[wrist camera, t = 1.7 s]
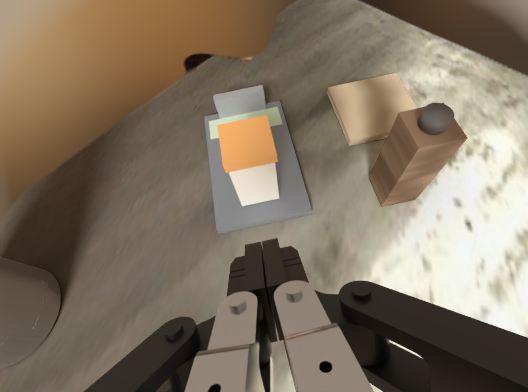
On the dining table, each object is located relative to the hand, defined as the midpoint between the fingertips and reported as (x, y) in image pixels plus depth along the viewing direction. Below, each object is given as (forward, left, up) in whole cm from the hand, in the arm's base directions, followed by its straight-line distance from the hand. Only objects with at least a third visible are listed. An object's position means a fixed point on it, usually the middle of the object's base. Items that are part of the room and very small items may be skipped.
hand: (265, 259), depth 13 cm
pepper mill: (+14, +9, -15) cm, 22 cm away
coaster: (+16, +20, -15) cm, 29 cm away
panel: (0, +16, -15) cm, 22 cm away
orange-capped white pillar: (0, +12, -13) cm, 18 cm away
